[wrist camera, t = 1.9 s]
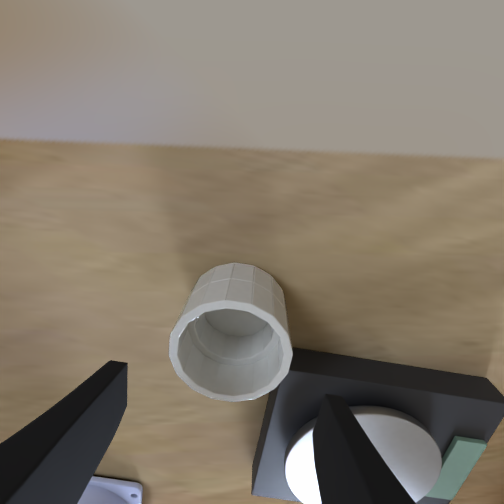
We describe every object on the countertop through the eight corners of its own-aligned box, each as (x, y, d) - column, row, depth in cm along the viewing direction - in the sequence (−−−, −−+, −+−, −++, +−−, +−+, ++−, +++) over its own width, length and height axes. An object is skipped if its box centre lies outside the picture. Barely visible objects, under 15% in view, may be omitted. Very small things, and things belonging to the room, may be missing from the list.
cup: (275, 347, 18) (279, 409, 14) (188, 333, 18) (165, 392, 14) (293, 267, 16) (304, 312, 12) (196, 252, 16) (172, 291, 12)
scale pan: (405, 516, 20) (410, 528, 19) (271, 497, 19) (271, 507, 19) (462, 418, 16) (469, 428, 16) (301, 393, 16) (302, 402, 16)
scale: (422, 490, 22) (441, 531, 20) (252, 465, 22) (251, 503, 20) (487, 377, 18) (519, 412, 16) (280, 345, 18) (283, 375, 16)
